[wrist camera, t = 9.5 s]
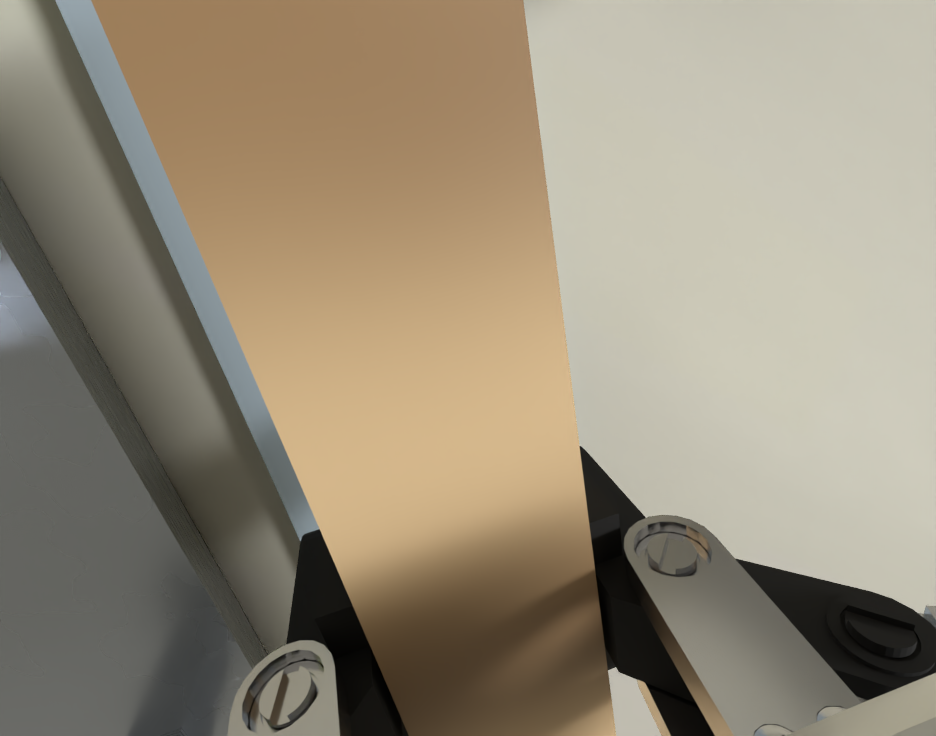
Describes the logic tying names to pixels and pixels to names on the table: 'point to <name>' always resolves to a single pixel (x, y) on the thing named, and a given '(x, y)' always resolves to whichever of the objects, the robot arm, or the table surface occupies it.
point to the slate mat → (183, 250)
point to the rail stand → (96, 541)
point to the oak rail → (397, 324)
